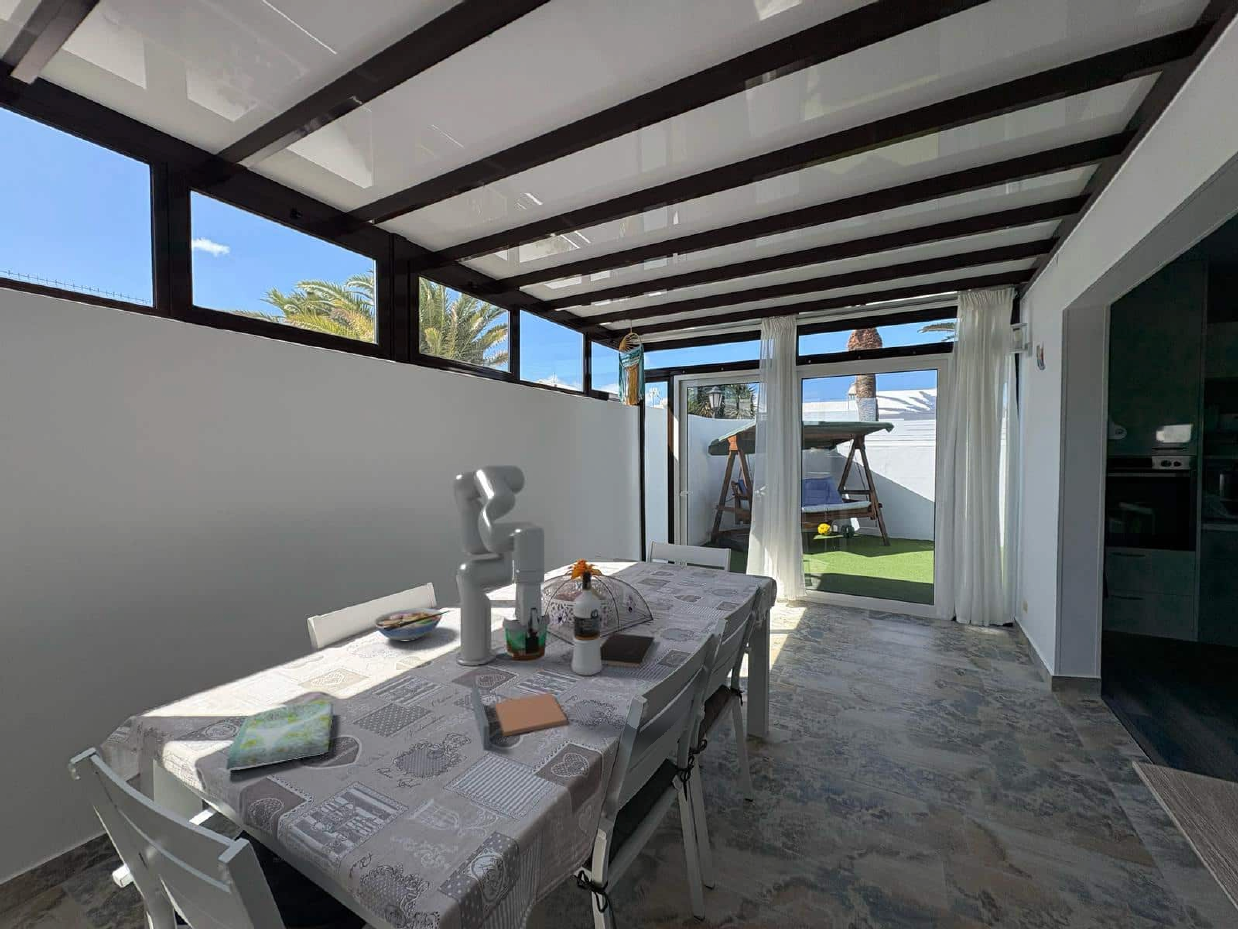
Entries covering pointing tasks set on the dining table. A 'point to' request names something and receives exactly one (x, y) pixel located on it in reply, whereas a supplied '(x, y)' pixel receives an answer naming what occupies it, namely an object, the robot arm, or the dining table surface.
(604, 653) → the hardcover book
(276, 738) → the towel
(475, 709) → the acrylic wall
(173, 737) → the dining table surface
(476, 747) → the dining table surface
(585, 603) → the vodka
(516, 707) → the mat
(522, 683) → the dining table surface
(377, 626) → the ramen bowl
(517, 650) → the food container
